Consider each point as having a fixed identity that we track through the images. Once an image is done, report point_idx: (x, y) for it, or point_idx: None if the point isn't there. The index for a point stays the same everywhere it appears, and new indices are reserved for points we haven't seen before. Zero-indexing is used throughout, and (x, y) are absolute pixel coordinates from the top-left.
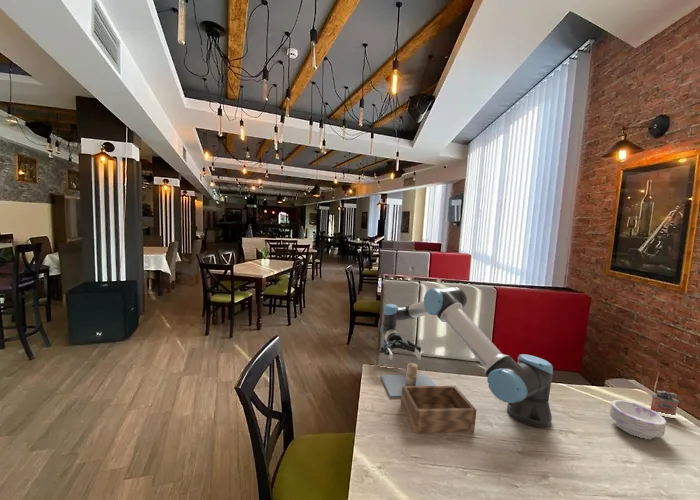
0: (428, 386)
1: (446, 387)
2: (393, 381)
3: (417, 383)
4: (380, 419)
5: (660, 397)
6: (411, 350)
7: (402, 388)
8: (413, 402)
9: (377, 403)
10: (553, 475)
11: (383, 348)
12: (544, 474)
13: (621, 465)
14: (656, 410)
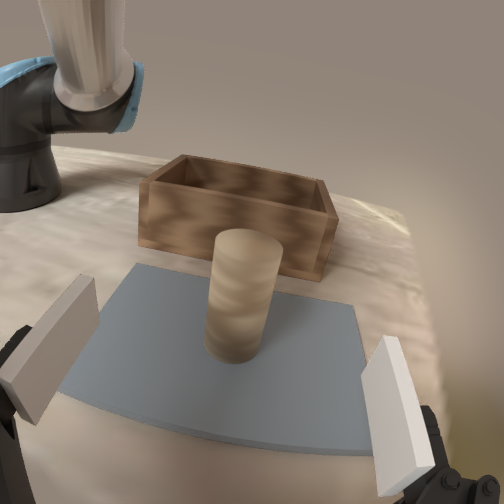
0: (242, 198)
1: (179, 185)
2: (318, 383)
3: (185, 342)
4: (380, 264)
5: None
6: (21, 472)
7: (336, 226)
8: (322, 189)
9: (391, 302)
10: (146, 163)
11: (468, 493)
12: (155, 165)
13: (54, 156)
14: None
